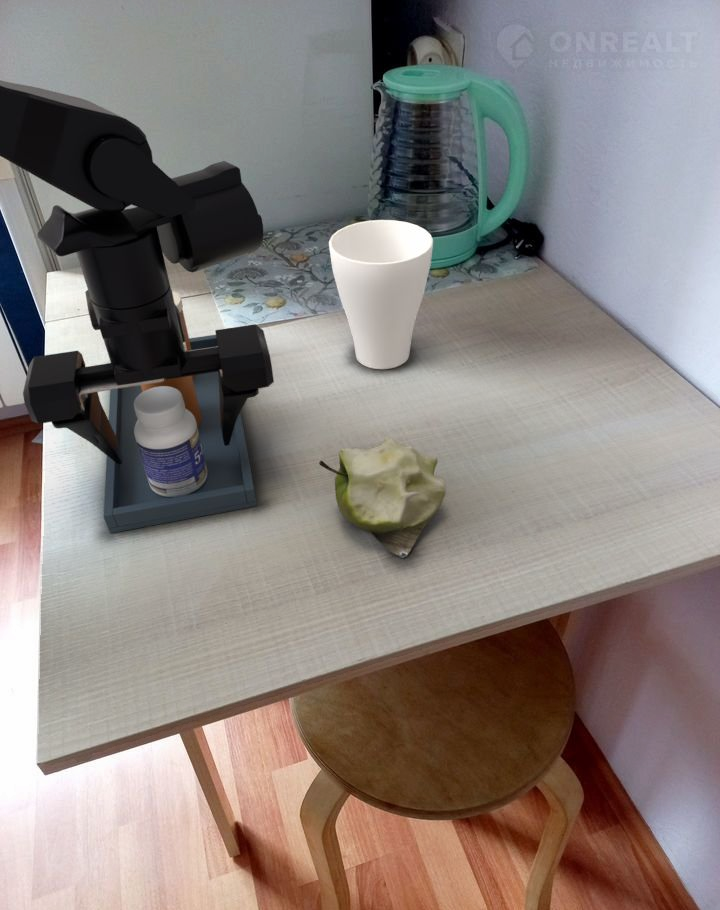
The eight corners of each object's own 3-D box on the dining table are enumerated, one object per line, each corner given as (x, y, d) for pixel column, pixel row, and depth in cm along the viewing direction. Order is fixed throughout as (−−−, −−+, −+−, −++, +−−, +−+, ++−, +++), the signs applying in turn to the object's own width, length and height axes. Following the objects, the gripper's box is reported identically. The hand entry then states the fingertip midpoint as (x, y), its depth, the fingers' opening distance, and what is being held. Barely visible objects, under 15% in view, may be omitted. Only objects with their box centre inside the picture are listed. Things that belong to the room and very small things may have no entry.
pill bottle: (214, 488, 63) (196, 409, 57) (155, 506, 61) (130, 426, 56) (200, 453, 67) (182, 375, 61) (145, 469, 65) (120, 390, 59)
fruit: (321, 548, 60) (301, 469, 56) (371, 487, 66) (357, 412, 62) (420, 570, 55) (407, 486, 51) (463, 502, 62) (455, 423, 58)
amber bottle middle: (152, 442, 68) (129, 363, 62) (151, 411, 72) (129, 335, 66) (204, 433, 69) (186, 355, 63) (200, 403, 73) (183, 327, 67)
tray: (109, 533, 60) (103, 516, 59) (117, 365, 80) (112, 349, 78) (257, 506, 62) (254, 488, 61) (228, 348, 82) (226, 332, 80)
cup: (380, 393, 74) (378, 275, 65) (317, 355, 80) (307, 241, 71) (448, 354, 79) (455, 239, 70) (383, 321, 85) (382, 211, 76)
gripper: (245, 230, 59) (267, 383, 69) (11, 260, 56) (70, 415, 67) (262, 292, 51) (284, 455, 61) (-10, 330, 48) (61, 494, 58)
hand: (174, 451), depth 62 cm, fingers open, 9 cm apart
